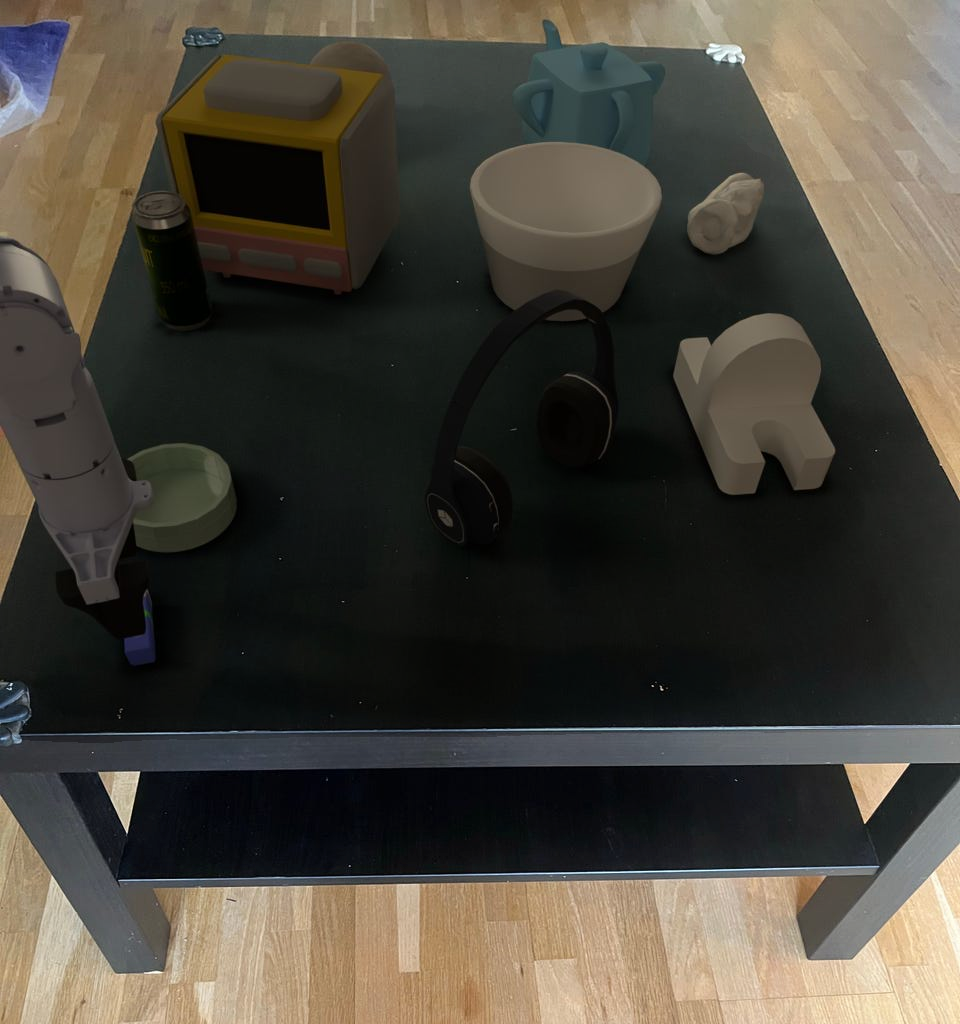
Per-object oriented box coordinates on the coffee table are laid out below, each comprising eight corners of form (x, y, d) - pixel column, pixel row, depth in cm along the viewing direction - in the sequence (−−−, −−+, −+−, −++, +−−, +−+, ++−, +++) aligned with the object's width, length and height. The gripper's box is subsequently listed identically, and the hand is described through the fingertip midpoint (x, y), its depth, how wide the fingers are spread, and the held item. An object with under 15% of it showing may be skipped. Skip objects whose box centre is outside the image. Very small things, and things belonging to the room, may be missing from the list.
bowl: (524, 220, 112) (530, 124, 103) (674, 270, 106) (693, 174, 98) (433, 297, 102) (432, 198, 93) (594, 358, 96) (608, 258, 87)
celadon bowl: (121, 563, 77) (110, 538, 75) (112, 481, 83) (102, 454, 81) (245, 539, 79) (238, 513, 77) (228, 460, 85) (221, 433, 83)
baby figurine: (733, 204, 116) (786, 159, 109) (733, 289, 113) (788, 249, 105) (677, 175, 112) (728, 126, 105) (676, 262, 109) (729, 218, 102)
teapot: (666, 153, 123) (687, 37, 112) (620, 210, 114) (638, 89, 103) (537, 122, 128) (545, 7, 117) (482, 174, 118) (486, 54, 108)
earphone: (472, 574, 78) (477, 389, 63) (413, 531, 80) (404, 344, 66) (624, 457, 87) (658, 271, 72) (566, 422, 90) (587, 237, 75)
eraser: (154, 603, 75) (147, 586, 73) (157, 663, 71) (150, 646, 70) (128, 607, 75) (121, 590, 73) (130, 668, 71) (123, 651, 70)
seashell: (388, 174, 132) (344, 56, 127) (441, 141, 121) (394, 10, 115) (296, 206, 125) (245, 84, 120) (343, 174, 114) (289, 37, 109)
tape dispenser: (722, 495, 84) (752, 395, 76) (670, 370, 95) (691, 270, 86) (826, 487, 85) (867, 387, 76) (763, 364, 96) (793, 264, 87)
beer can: (204, 297, 101) (178, 184, 91) (220, 324, 98) (195, 211, 88) (154, 310, 99) (122, 196, 90) (168, 338, 96) (137, 224, 87)
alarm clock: (185, 284, 102) (141, 101, 88) (241, 211, 112) (209, 35, 97) (362, 312, 100) (347, 128, 85) (403, 234, 109) (396, 58, 95)
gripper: (143, 516, 55) (194, 658, 66) (123, 367, 63) (171, 514, 74) (14, 541, 54) (87, 681, 64) (12, 384, 62) (77, 532, 73)
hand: (126, 593), depth 69 cm, fingers open, 7 cm apart
